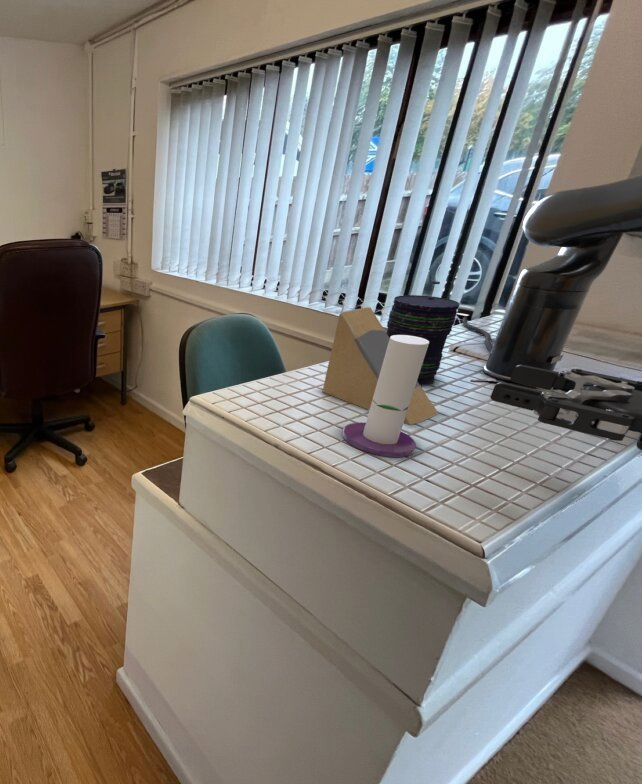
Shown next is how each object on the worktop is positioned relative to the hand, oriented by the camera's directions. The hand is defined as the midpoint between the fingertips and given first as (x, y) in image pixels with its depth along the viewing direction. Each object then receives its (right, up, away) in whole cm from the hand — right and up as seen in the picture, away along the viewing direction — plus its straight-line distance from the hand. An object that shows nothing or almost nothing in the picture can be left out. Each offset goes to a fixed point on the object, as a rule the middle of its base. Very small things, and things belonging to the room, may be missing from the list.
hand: (503, 381), depth 55 cm
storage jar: (+15, +2, +35) cm, 38 cm away
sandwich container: (+2, -3, +25) cm, 25 cm away
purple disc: (-6, -9, +13) cm, 17 cm away
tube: (-6, -8, +13) cm, 16 cm away
